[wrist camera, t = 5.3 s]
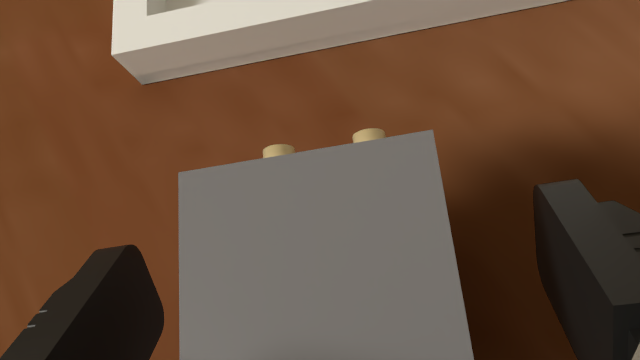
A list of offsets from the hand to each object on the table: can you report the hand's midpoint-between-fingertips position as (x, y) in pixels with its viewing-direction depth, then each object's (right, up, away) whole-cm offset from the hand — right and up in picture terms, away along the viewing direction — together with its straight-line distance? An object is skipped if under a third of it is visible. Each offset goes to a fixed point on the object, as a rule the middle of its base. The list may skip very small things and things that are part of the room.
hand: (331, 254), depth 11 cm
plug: (+1, -2, +4) cm, 5 cm away
